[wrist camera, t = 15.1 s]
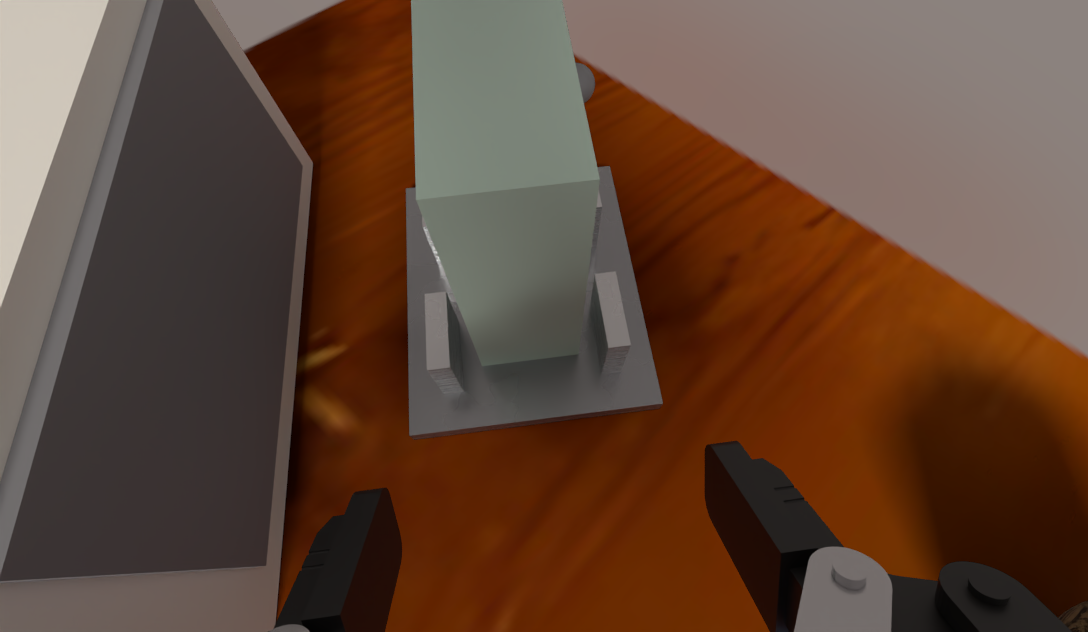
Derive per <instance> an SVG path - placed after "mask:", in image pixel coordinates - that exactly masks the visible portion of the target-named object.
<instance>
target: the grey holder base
mask: <svg viewBox="0 0 1088 632" xmlns="http://www.w3.org/2000/svg"><path fill="white" fill-rule="evenodd" d="M597 168H598V173H599V178H600V182H599V191H598V199H597V207H596V215H595V224H594V232H593V240H592V248H591V257H590V265H589V273H588V281H587V290H586V298H585V306H584V314H583V323H582V331H581V339H580V347H579V354H577V355H568V356H560V357H552V358H544V359H536V360H528V361H520V362H512V363H504V364H495V365H487V366H482V365H481V362H480V360H479V357H478V355H477V352H476V350H475V347H474V344H473V342H472V339H471V337H470V334H469V332H468V329H467V327H466V324H465V322H464V319H463V317H462V314H461V312H460V309H459V307H458V304H457V302H456V299H455V297H454V294H453V292H452V289H451V287H450V284H449V282H448V279H447V277H446V274H445V272H444V269H443V266H442V264H441V261H440V259H439V256H438V254H437V251H436V249H435V246H434V244H433V241H432V239H431V236H430V234H429V231H428V229H427V226H426V224H425V221H424V219H423V216H422V214H421V211H420V209H419V206H418V204H417V201H416V188H407V189H406V228H407V298H408V369H409V436H410V437H412V438H413V439H414V440H417V439H424V438H432V437H440V436H448V435H456V434H464V433H471V432H479V431H487V430H495V429H503V428H511V427H519V426H526V425H534V424H542V423H550V422H558V421H566V420H573V419H581V418H589V417H597V416H605V415H613V414H621V413H628V412H636V411H644V410H652V409H659V408H660V407H661V406H662V404H663V401H662V397H661V392H660V388H659V383H658V379H657V374H656V370H655V366H654V361H653V357H652V352H651V348H650V343H649V339H648V334H647V330H646V325H645V321H644V317H643V312H642V308H641V303H640V299H639V294H638V290H637V285H636V281H635V276H634V272H633V267H632V263H631V259H630V254H629V250H628V245H627V241H626V236H625V232H624V227H623V223H622V218H621V214H620V210H619V205H618V201H617V196H616V192H615V187H614V183H613V178H612V174H611V169H610V166H604V167H597Z"/></svg>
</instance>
